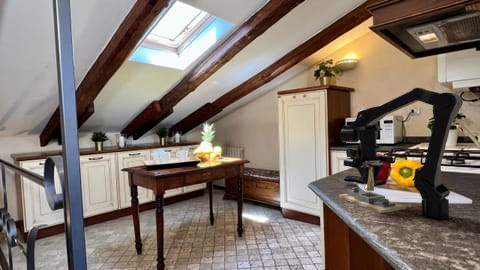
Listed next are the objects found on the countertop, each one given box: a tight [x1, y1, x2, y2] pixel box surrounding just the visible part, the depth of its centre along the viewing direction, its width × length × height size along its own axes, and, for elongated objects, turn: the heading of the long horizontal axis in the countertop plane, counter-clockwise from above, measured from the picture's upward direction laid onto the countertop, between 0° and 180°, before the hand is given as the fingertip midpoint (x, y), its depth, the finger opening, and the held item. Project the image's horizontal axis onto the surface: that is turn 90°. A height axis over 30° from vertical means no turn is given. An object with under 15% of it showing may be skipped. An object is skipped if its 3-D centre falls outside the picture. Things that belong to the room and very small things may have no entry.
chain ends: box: [346, 186, 396, 208], centre depth 103 cm, size 19×8×3 cm, turn 17°
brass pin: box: [364, 165, 375, 192], centre depth 103 cm, size 3×3×9 cm
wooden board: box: [338, 193, 407, 214], centre depth 103 cm, size 22×11×1 cm, turn 17°
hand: (369, 183), depth 103 cm, fingers closed on brass pin, 3 cm apart
